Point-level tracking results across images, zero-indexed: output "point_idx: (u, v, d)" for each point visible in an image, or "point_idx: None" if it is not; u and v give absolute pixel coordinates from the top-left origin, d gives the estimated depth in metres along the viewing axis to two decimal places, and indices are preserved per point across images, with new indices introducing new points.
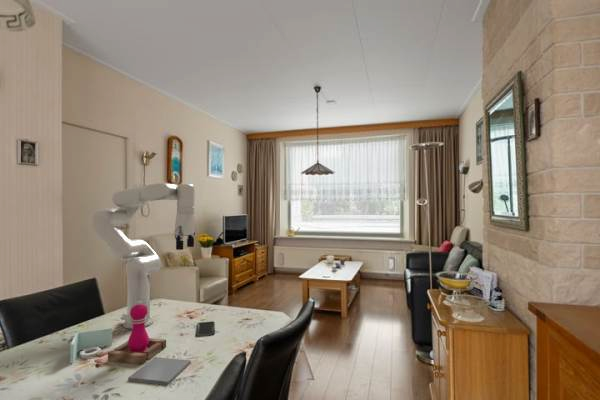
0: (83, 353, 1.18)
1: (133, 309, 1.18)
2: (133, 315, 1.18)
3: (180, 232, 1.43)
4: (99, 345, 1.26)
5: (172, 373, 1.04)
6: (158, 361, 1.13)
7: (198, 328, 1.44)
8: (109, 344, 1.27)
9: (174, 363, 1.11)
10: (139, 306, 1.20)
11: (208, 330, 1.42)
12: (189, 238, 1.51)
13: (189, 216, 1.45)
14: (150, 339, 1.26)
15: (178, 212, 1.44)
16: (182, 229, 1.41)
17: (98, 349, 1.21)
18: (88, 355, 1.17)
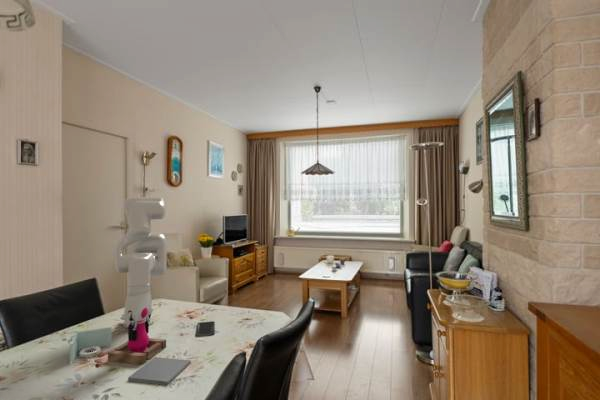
0: (82, 352, 1.18)
1: None
2: None
3: None
4: (98, 345, 1.26)
5: (172, 373, 1.04)
6: (158, 361, 1.13)
7: (198, 328, 1.44)
8: (108, 344, 1.28)
9: (174, 363, 1.11)
10: None
11: (208, 330, 1.42)
12: None
13: (144, 296, 1.20)
14: (150, 339, 1.26)
15: (129, 292, 1.18)
16: (133, 315, 1.16)
17: (97, 348, 1.21)
18: (87, 354, 1.17)
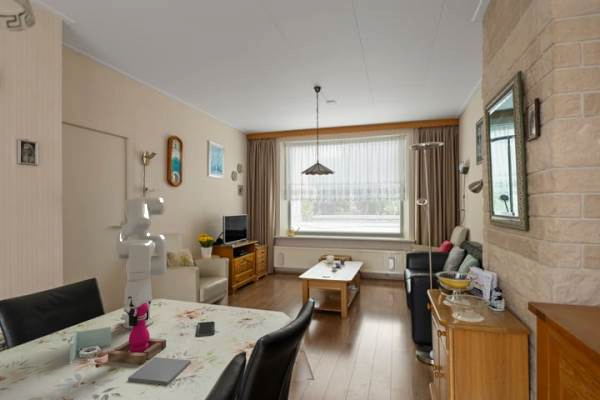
0: (82, 352, 1.18)
1: None
2: None
3: None
4: (98, 344, 1.26)
5: (172, 373, 1.04)
6: (158, 361, 1.13)
7: (198, 328, 1.44)
8: (108, 343, 1.28)
9: (174, 363, 1.11)
10: None
11: (208, 330, 1.42)
12: None
13: (144, 282, 1.20)
14: (150, 339, 1.26)
15: (129, 278, 1.18)
16: (133, 300, 1.16)
17: (97, 348, 1.21)
18: (87, 354, 1.18)
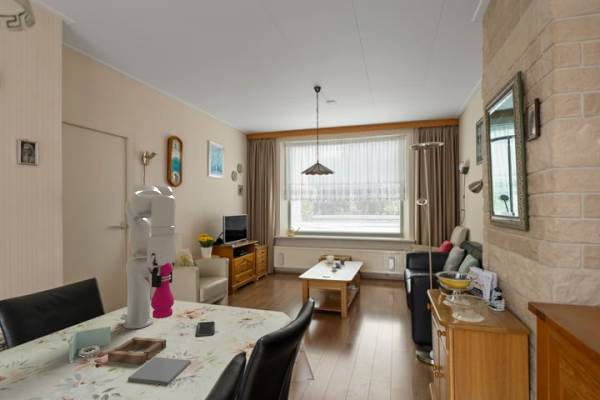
0: (82, 352, 1.19)
1: (157, 265, 1.06)
2: None
3: (154, 261, 1.05)
4: (98, 344, 1.27)
5: (172, 373, 1.04)
6: (158, 361, 1.13)
7: (198, 328, 1.44)
8: (108, 343, 1.28)
9: (174, 363, 1.11)
10: None
11: (208, 330, 1.42)
12: None
13: (168, 239, 1.08)
14: (150, 339, 1.26)
15: (152, 234, 1.06)
16: (157, 258, 1.03)
17: (97, 348, 1.22)
18: (87, 354, 1.18)
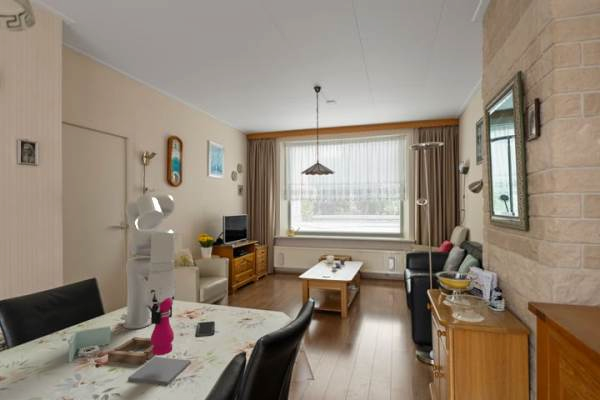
0: (82, 352, 1.19)
1: (156, 301, 1.06)
2: None
3: (154, 297, 1.05)
4: (97, 344, 1.27)
5: (172, 373, 1.04)
6: (158, 361, 1.13)
7: (198, 328, 1.44)
8: (107, 343, 1.28)
9: (174, 363, 1.11)
10: None
11: (208, 330, 1.42)
12: None
13: (168, 275, 1.07)
14: (150, 339, 1.26)
15: (152, 270, 1.05)
16: (156, 295, 1.03)
17: (96, 348, 1.22)
18: (87, 353, 1.18)
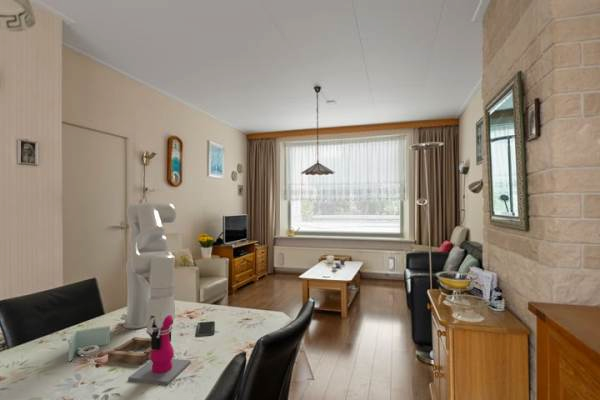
0: (81, 351, 1.19)
1: None
2: None
3: None
4: (97, 343, 1.27)
5: (172, 373, 1.04)
6: None
7: (198, 328, 1.44)
8: (107, 342, 1.29)
9: (174, 363, 1.11)
10: None
11: (208, 330, 1.42)
12: None
13: (167, 299, 1.07)
14: (150, 339, 1.26)
15: (151, 295, 1.05)
16: (156, 321, 1.03)
17: (96, 347, 1.22)
18: (86, 353, 1.18)
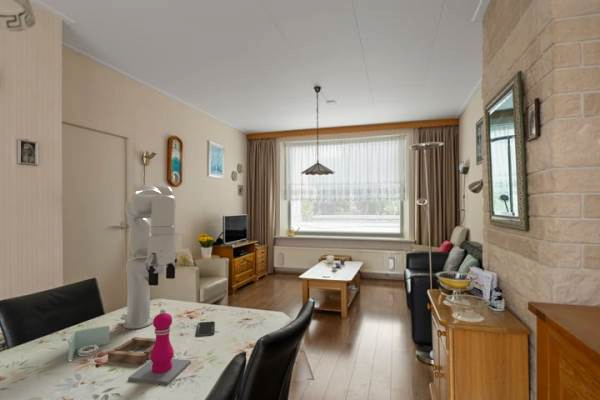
0: (81, 351, 1.19)
1: (157, 319, 1.06)
2: (157, 325, 1.05)
3: (155, 261, 1.05)
4: (96, 343, 1.27)
5: (172, 373, 1.04)
6: None
7: (198, 328, 1.44)
8: (106, 342, 1.29)
9: (174, 363, 1.11)
10: (163, 315, 1.07)
11: (208, 330, 1.42)
12: (169, 267, 1.13)
13: (168, 239, 1.08)
14: (150, 339, 1.26)
15: (152, 234, 1.06)
16: (157, 257, 1.03)
17: (96, 347, 1.23)
18: (86, 353, 1.19)
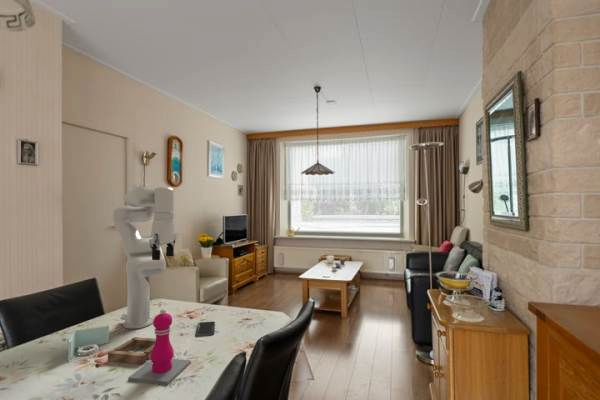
0: (80, 350, 1.20)
1: (157, 319, 1.06)
2: (157, 325, 1.05)
3: (157, 240, 1.29)
4: (96, 343, 1.28)
5: (172, 373, 1.04)
6: None
7: (198, 328, 1.44)
8: (106, 342, 1.29)
9: (174, 363, 1.11)
10: (163, 315, 1.07)
11: (208, 330, 1.42)
12: (168, 246, 1.37)
13: (168, 223, 1.32)
14: (150, 339, 1.26)
15: (155, 218, 1.30)
16: (159, 237, 1.27)
17: (95, 346, 1.23)
18: (85, 352, 1.19)
